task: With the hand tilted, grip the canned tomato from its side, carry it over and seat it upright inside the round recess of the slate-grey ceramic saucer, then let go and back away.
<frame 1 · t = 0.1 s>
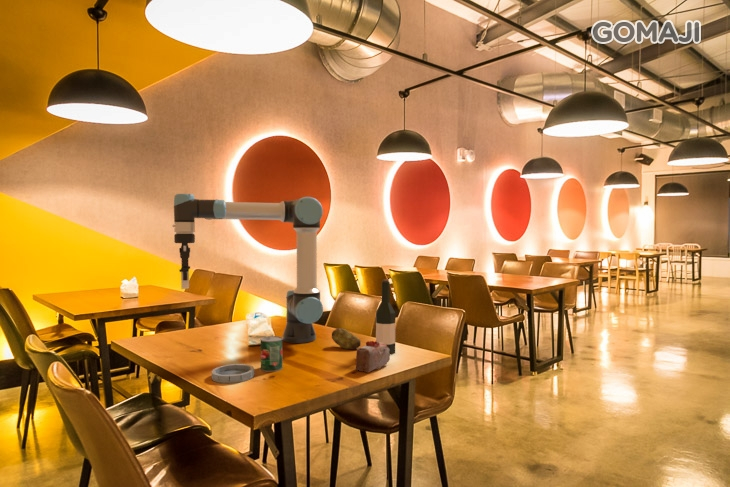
hand: (185, 287, 183), 28 cm above the table, tool pointing down, fingers open, 13 cm apart
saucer: (233, 376, 159), on the table
wine bottle: (385, 352, 192), on the table
potato: (345, 348, 199), on the table
canned tomato: (271, 369, 169), on the table
food item: (372, 368, 170), on the table
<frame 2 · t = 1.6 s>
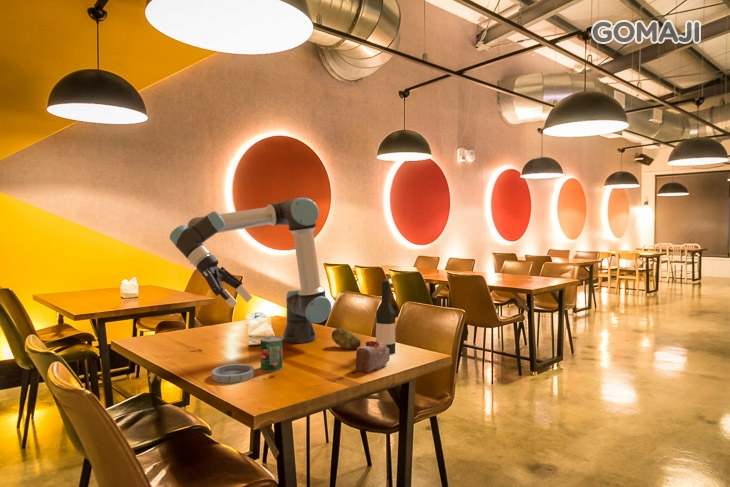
hand: (242, 302, 169), 24 cm above the table, tool tilted 45°, fingers open, 13 cm apart
nothing on the table moved.
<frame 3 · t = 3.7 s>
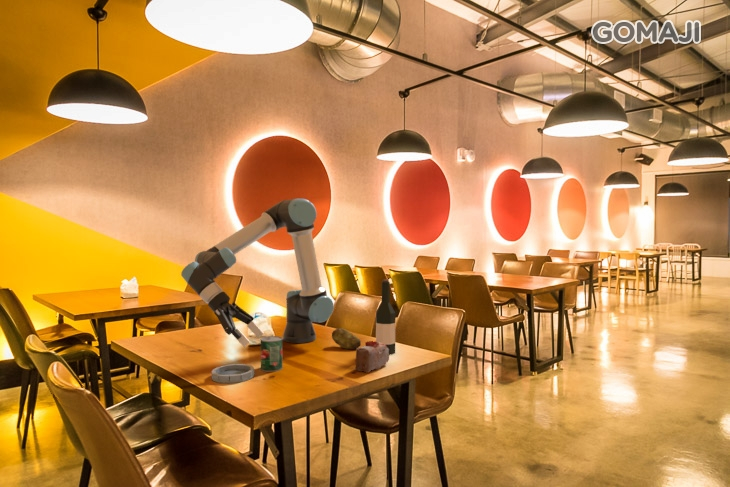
hand: (254, 340, 168), 10 cm above the table, tool tilted 45°, fingers open, 13 cm apart
nothing on the table moved.
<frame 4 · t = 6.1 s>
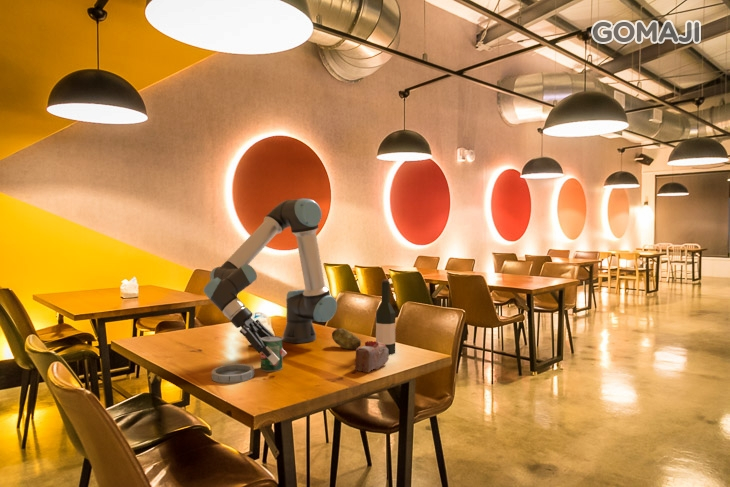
hand: (280, 358, 168), 4 cm above the table, tool tilted 45°, fingers closed on canned tomato, 8 cm apart
canned tomato: (271, 369, 169), on the table, touching gripper
everything else where it was.
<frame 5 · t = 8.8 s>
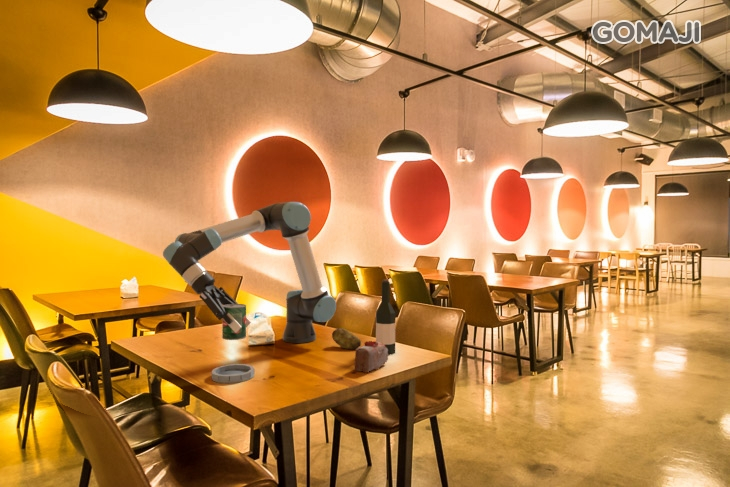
hand: (243, 327, 158), 17 cm above the table, tool tilted 45°, fingers closed on canned tomato, 8 cm apart
canned tomato: (234, 338, 159), point 13 cm above the table, touching gripper
everything else where it was.
when the fingers open (6 cm above the table, at t = 11.4 s): canned tomato drops 1 cm, resting on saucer.
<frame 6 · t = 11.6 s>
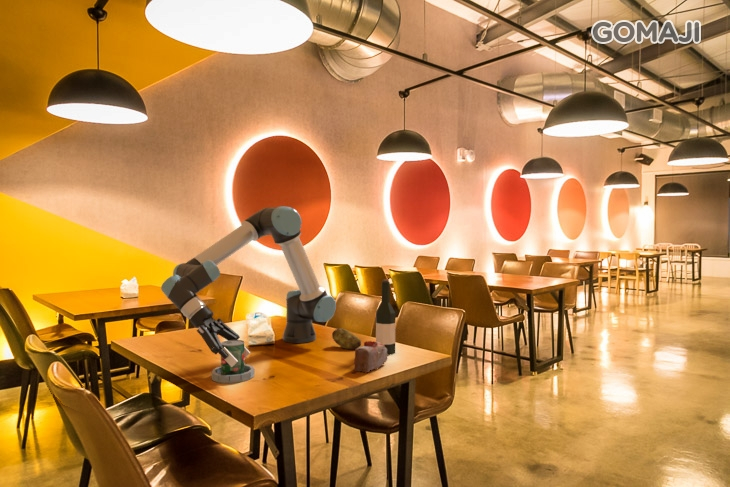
hand: (241, 359, 158), 6 cm above the table, tool tilted 45°, fingers open, 10 cm apart
canned tomato: (233, 374, 159), point 1 cm above the table, touching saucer
everything else where it was.
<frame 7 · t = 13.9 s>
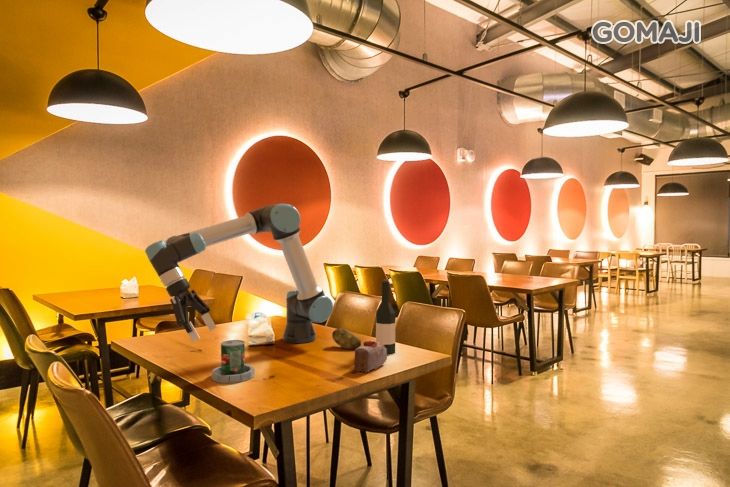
hand: (205, 334, 164), 13 cm above the table, tool tilted 30°, fingers open, 13 cm apart
nothing on the table moved.
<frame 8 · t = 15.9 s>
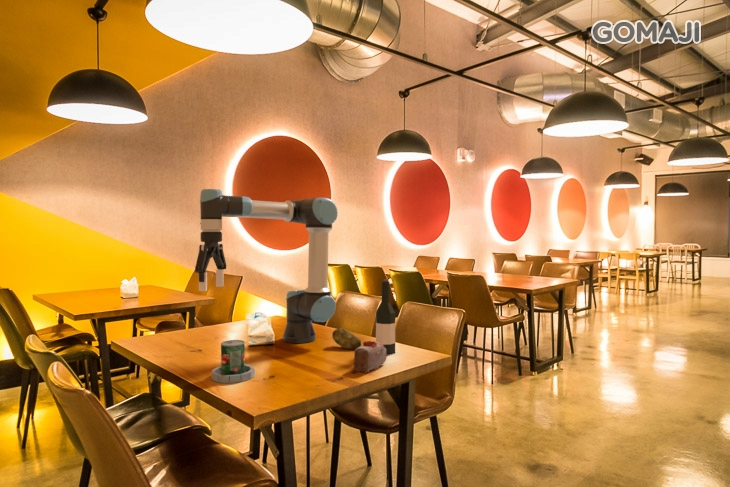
hand: (211, 288, 171), 29 cm above the table, tool pointing down, fingers open, 13 cm apart
nothing on the table moved.
at the end: canned tomato 0.0 cm from the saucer (horizontally); canned tomato tilted 0°; the gripper is holding nothing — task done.
